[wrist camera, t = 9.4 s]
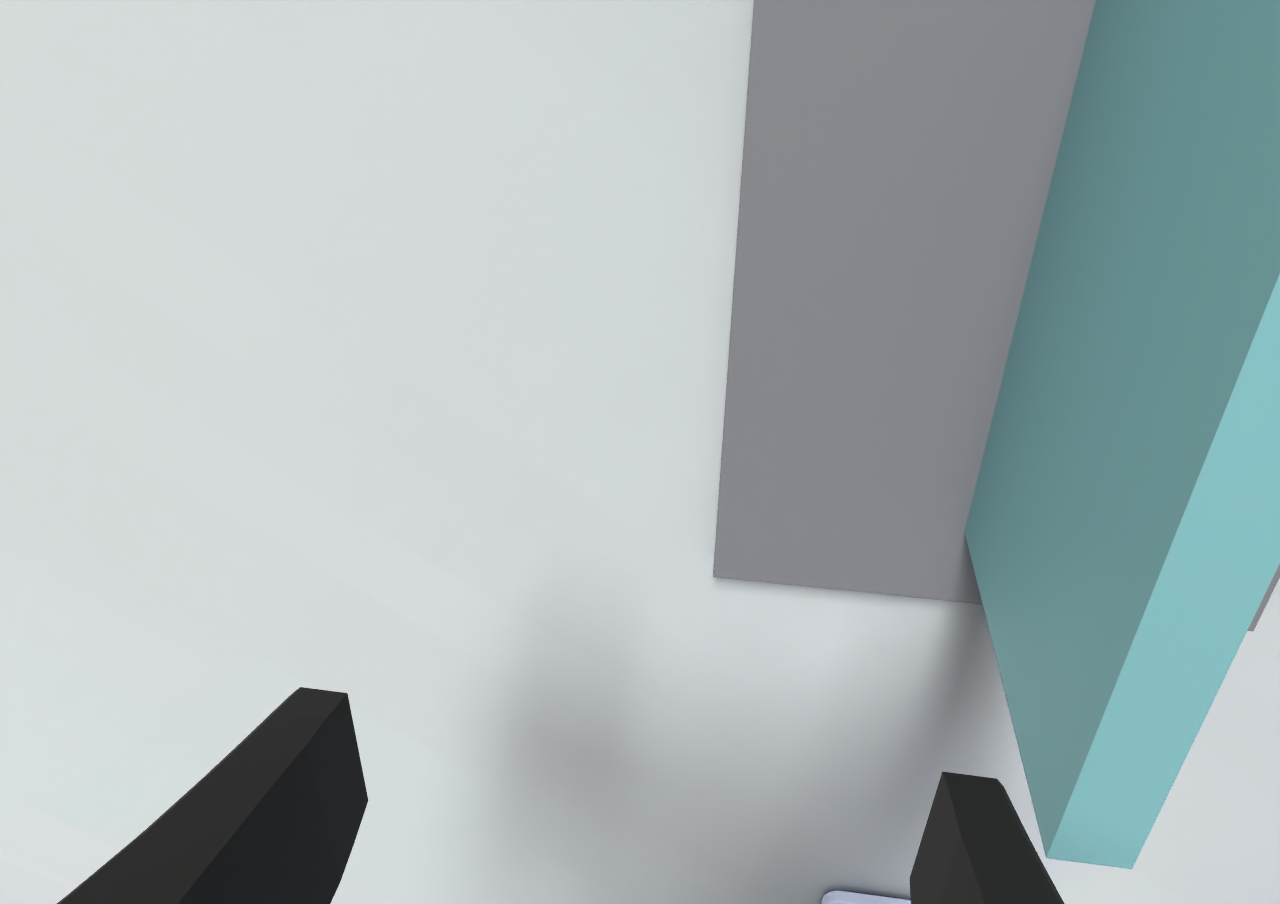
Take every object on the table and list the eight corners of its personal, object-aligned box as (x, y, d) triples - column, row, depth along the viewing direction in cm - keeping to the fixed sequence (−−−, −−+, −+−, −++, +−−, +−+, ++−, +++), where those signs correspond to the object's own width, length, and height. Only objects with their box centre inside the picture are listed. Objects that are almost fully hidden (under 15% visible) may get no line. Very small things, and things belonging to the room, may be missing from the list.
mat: (1242, 613, 21) (1252, 630, 21) (714, 560, 23) (712, 577, 22) (1663, -273, 13) (1698, -279, 12) (774, -274, 14) (774, -279, 14)
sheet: (1021, 536, 20) (1131, 868, 14) (964, 531, 20) (1046, 858, 14) (1207, -108, 14) (1588, -77, 7) (1122, -109, 14) (1420, -80, 7)
